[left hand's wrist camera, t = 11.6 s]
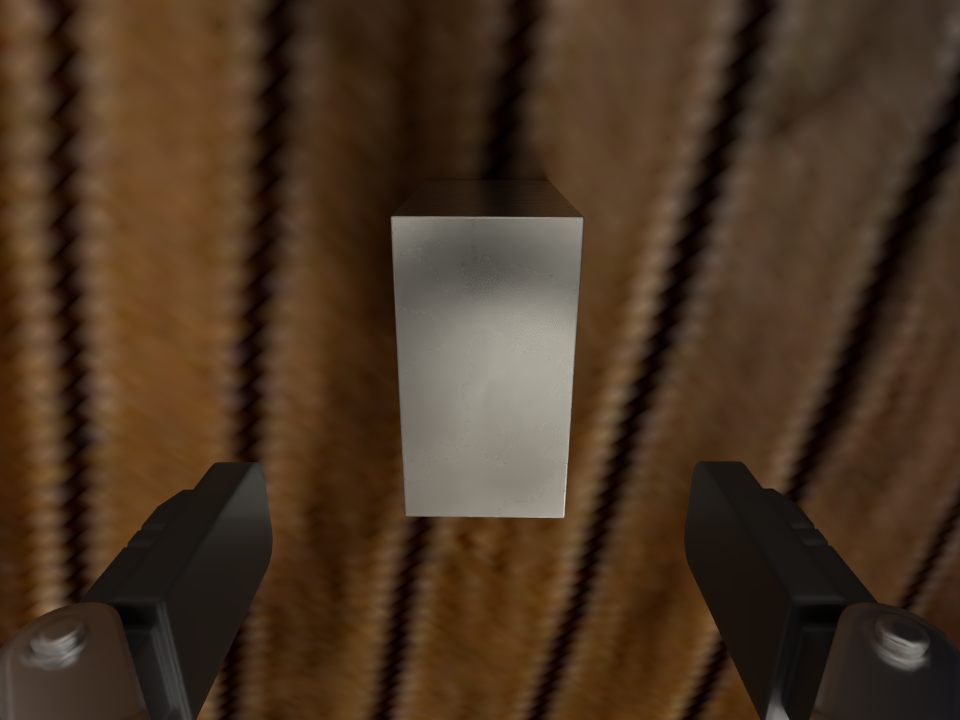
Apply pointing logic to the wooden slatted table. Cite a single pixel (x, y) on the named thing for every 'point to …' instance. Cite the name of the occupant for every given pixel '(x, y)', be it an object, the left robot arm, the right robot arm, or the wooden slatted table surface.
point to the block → (486, 346)
